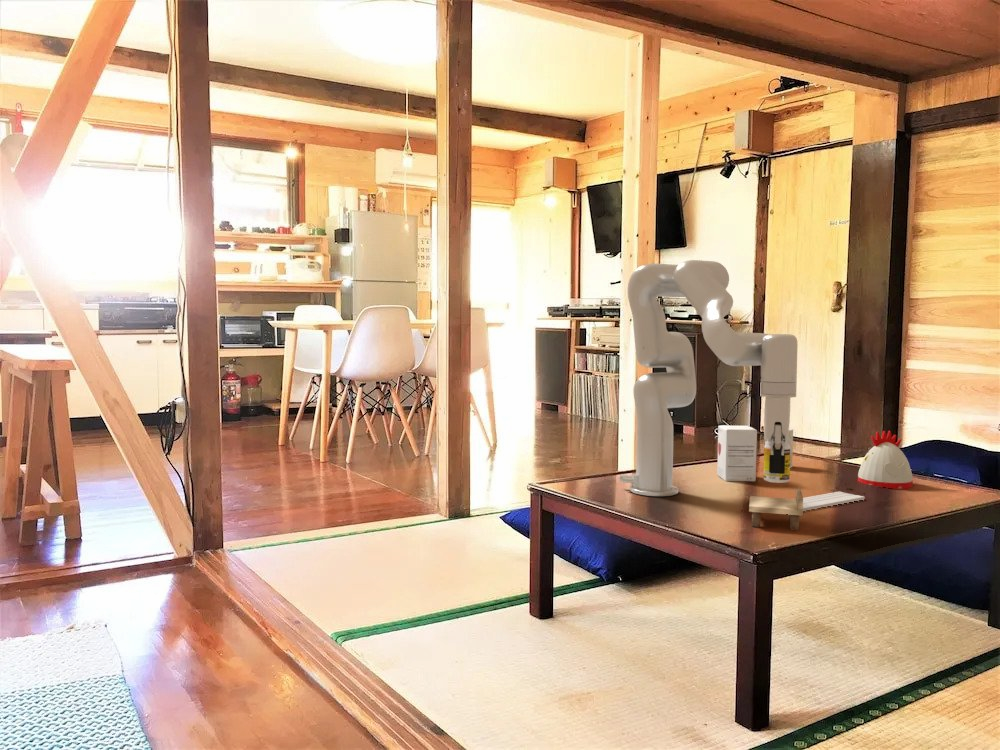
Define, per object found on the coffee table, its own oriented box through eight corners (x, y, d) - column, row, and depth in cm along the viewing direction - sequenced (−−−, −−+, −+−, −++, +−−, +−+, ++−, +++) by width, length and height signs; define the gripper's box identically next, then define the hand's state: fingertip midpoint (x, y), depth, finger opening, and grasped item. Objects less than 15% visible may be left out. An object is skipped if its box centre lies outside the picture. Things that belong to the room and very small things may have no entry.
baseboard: (753, 508, 197) (787, 517, 188) (753, 497, 196) (787, 505, 188) (830, 495, 213) (864, 502, 204) (830, 484, 212) (865, 491, 204)
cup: (788, 470, 246) (789, 431, 245) (761, 467, 250) (762, 429, 249) (794, 466, 252) (795, 428, 252) (768, 463, 257) (769, 426, 256)
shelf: (748, 527, 176) (749, 495, 176) (749, 516, 187) (750, 485, 186) (802, 531, 173) (803, 499, 172) (799, 519, 183) (800, 489, 183)
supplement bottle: (784, 484, 175) (785, 437, 174) (759, 481, 179) (760, 435, 178) (793, 480, 179) (794, 435, 179) (769, 477, 183) (770, 433, 182)
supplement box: (716, 475, 237) (717, 424, 236) (746, 475, 237) (747, 425, 236) (724, 481, 228) (726, 429, 227) (756, 481, 228) (757, 429, 227)
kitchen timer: (849, 479, 232) (851, 427, 231) (897, 479, 232) (899, 427, 231) (871, 488, 218) (873, 434, 217) (922, 489, 218) (924, 434, 217)
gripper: (760, 386, 187) (759, 463, 188) (760, 392, 171) (758, 476, 172) (794, 387, 185) (793, 465, 186) (798, 393, 168) (796, 478, 169)
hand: (776, 469), depth 179 cm, fingers closed on supplement bottle, 5 cm apart
